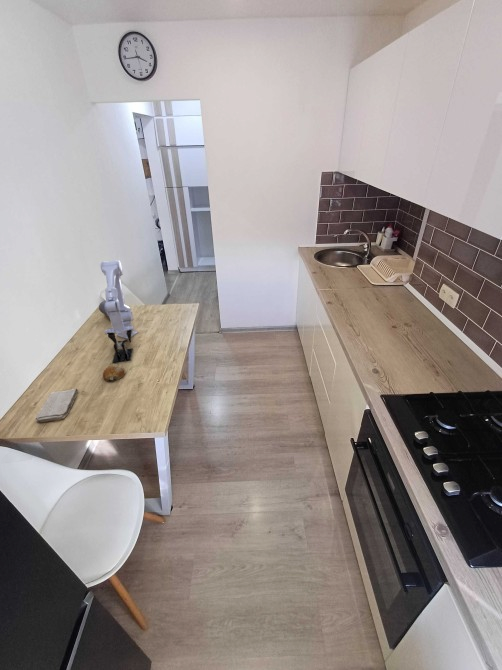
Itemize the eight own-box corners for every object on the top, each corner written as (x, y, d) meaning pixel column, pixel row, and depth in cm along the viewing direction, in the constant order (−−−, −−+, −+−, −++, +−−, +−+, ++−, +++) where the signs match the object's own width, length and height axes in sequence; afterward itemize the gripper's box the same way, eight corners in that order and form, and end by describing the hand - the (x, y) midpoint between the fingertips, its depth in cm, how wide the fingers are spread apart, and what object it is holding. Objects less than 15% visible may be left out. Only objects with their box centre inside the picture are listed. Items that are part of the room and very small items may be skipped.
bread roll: (129, 379, 159) (129, 364, 158) (114, 384, 150) (115, 368, 148) (113, 376, 162) (113, 360, 161) (97, 380, 152) (98, 364, 151)
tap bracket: (116, 352, 174) (111, 338, 170) (133, 349, 176) (129, 336, 171) (113, 364, 165) (108, 350, 160) (130, 361, 166) (126, 347, 162)
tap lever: (118, 343, 175) (117, 339, 174) (128, 342, 175) (127, 338, 175) (115, 349, 165) (114, 345, 165) (124, 348, 166) (123, 343, 165)
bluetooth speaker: (131, 321, 204) (127, 307, 199) (117, 327, 198) (113, 312, 193) (113, 311, 217) (109, 298, 212) (100, 316, 211) (96, 303, 206)
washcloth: (36, 424, 131) (33, 419, 130) (52, 395, 146) (49, 389, 145) (66, 419, 133) (63, 414, 131) (79, 391, 148) (76, 386, 146)
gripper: (101, 327, 163) (108, 348, 170) (130, 323, 165) (136, 344, 173) (103, 320, 169) (110, 342, 176) (131, 317, 171) (137, 338, 178)
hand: (123, 343), depth 175 cm, fingers open, 7 cm apart
